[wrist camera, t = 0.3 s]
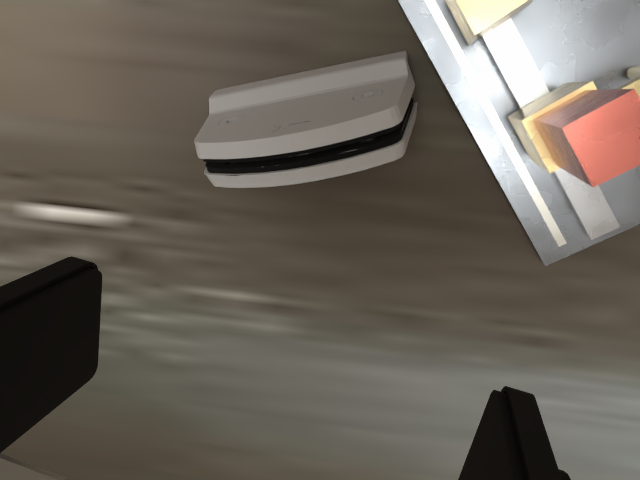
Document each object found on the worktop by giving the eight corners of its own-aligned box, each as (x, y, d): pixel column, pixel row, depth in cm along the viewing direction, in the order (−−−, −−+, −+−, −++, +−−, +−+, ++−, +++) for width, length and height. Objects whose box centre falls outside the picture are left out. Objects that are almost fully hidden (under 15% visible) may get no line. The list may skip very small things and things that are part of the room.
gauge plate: (583, -156, 30) (636, -248, 22) (739, 172, 33) (836, 197, 25) (390, -14, 35) (375, -47, 27) (542, 261, 38) (570, 306, 30)
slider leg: (628, 45, 31) (768, 8, 18) (651, 92, 32) (805, 91, 18) (505, 115, 34) (547, 129, 21) (528, 158, 34) (584, 197, 21)
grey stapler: (411, 49, 36) (410, 96, 28) (419, 109, 38) (420, 168, 31) (211, 90, 40) (161, 141, 32) (230, 141, 43) (189, 200, 35)
